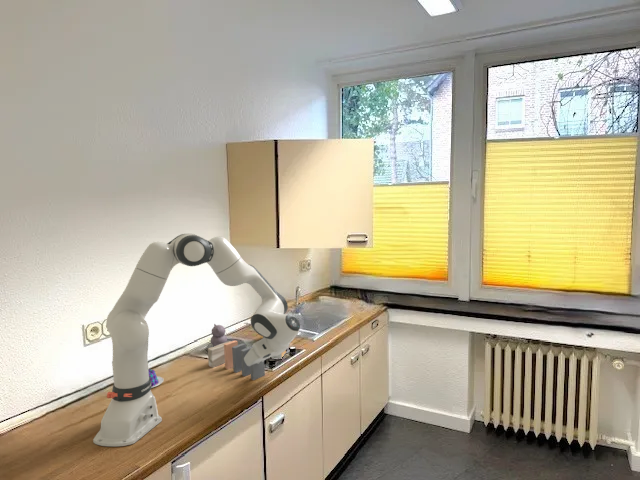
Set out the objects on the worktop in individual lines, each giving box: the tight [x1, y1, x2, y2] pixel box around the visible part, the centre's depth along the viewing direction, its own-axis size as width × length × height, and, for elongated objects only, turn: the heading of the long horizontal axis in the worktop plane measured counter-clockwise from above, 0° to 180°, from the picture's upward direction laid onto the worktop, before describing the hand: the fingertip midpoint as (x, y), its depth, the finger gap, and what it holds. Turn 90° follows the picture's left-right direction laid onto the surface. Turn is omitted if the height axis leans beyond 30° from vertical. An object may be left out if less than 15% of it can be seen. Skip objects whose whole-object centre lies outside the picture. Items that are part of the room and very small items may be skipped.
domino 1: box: [232, 343, 247, 374], centre depth 192 cm, size 2×6×11 cm, turn 138°
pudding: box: [148, 368, 164, 389], centre depth 183 cm, size 12×12×5 cm
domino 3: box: [250, 361, 266, 381], centre depth 185 cm, size 2×6×11 cm, turn 139°
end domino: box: [224, 340, 239, 370], centre depth 196 cm, size 2×6×11 cm, turn 138°
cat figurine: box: [210, 323, 228, 347], centre depth 217 cm, size 9×8×12 cm
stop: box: [207, 340, 232, 368], centre depth 201 cm, size 3×12×8 cm, turn 138°
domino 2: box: [241, 345, 253, 377], centre depth 189 cm, size 2×6×11 cm, turn 138°
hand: (259, 361), depth 184 cm, fingers closed
